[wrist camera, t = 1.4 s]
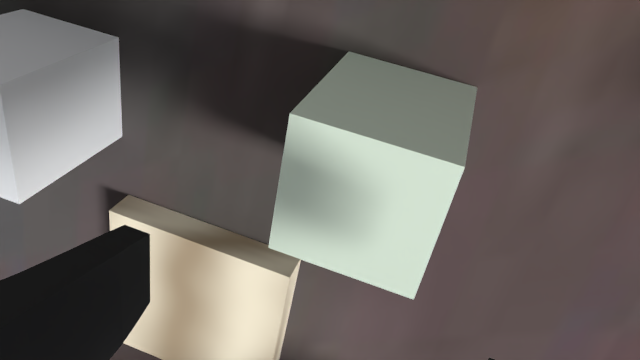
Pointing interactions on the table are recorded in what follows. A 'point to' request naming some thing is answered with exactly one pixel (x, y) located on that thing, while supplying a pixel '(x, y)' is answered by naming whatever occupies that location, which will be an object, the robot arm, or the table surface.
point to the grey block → (53, 99)
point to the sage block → (372, 171)
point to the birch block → (208, 289)
